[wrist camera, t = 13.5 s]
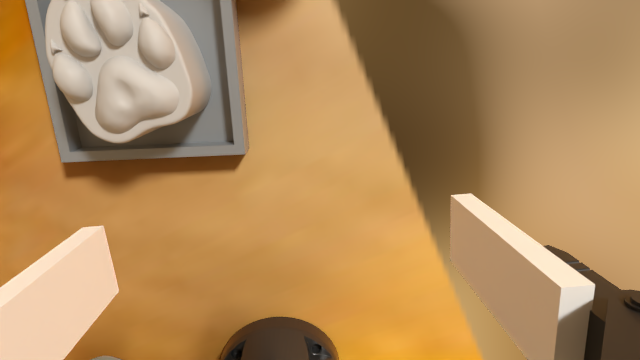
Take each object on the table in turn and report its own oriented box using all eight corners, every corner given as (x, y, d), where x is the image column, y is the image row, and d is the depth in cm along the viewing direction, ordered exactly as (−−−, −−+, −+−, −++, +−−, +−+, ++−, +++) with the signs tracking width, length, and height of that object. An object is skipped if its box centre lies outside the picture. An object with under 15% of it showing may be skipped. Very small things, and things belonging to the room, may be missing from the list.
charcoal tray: (249, 148, 42) (245, 154, 40) (78, 155, 42) (61, 162, 39) (231, -51, 37) (225, -61, 34) (35, -46, 37) (12, -55, 34)
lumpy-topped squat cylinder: (130, 139, 41) (87, 158, 33) (63, 12, 37) (-5, -3, 29) (223, 103, 40) (203, 112, 32) (164, -31, 37) (123, -58, 28)
